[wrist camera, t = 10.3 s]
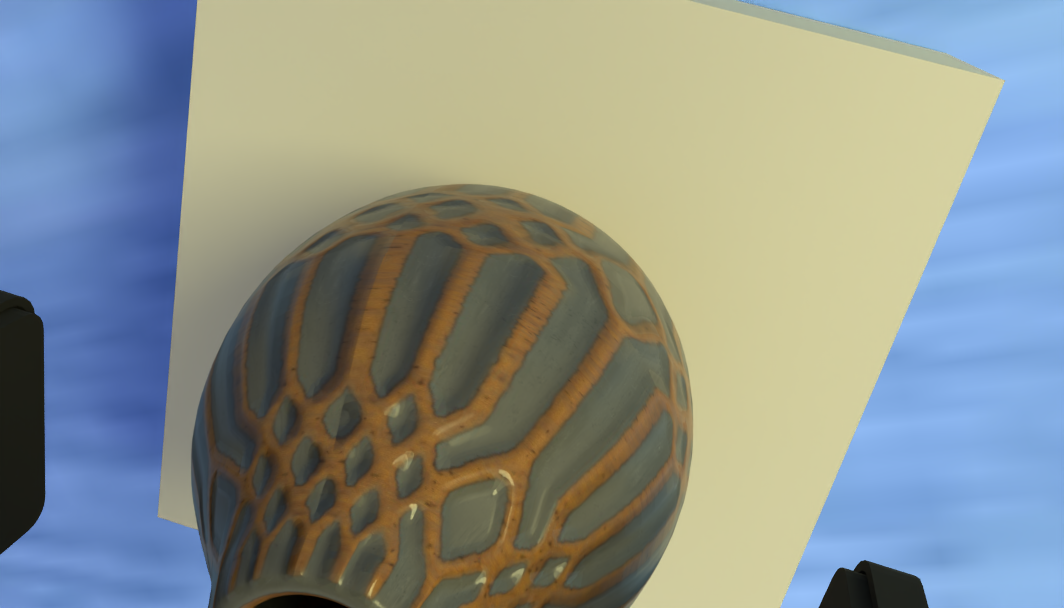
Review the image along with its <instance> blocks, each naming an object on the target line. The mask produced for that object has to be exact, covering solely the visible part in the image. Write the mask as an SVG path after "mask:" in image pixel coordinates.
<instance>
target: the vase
mask: <svg viewBox="0 0 1064 608" xmlns="http://www.w3.org/2000/svg"><path fill="white" fill-rule="evenodd" d="M692 451H693V402H692V395H691V387H690V380H689V372H688V367H687V363H686V358H685V354H684V351H683V347H682V344H681V341H680V338H679V335H678V333H677V330H676V328H675V326H674V323H673V321H672V319H671V317H670V315H669V313H668V311H667V309H666V307H665V305H664V303H663V301H662V299H661V297H660V296H659V294H658V292H657V291H656V289H655V287H654V286H653V284H652V283H651V281H650V280H649V279H648V277H647V276H646V274H645V273H644V272H643V270H642V269H641V268H640V267H639V266H638V264H637V263H636V262H635V261H634V260H633V258H632V257H631V256H630V255H629V254H628V253H627V252H626V251H625V250H624V249H623V248H622V247H621V246H620V245H619V244H618V243H616V242H615V241H614V240H613V239H612V238H611V237H609V236H608V235H607V234H606V233H605V232H603V231H602V230H601V229H599V228H598V227H596V226H595V225H594V224H592V223H591V222H589V221H588V220H586V219H585V218H583V217H581V216H580V215H578V214H576V213H574V212H573V211H571V210H569V209H567V208H565V207H563V206H561V205H559V204H556V203H554V202H552V201H549V200H547V199H544V198H542V197H539V196H536V195H533V194H530V193H526V192H522V191H519V190H515V189H510V188H505V187H499V186H491V185H482V184H451V185H440V186H430V187H423V188H418V189H413V190H408V191H403V192H400V193H397V194H393V195H390V196H387V197H384V198H382V199H380V200H377V201H375V202H372V203H370V204H368V205H365V206H363V207H361V208H358V209H356V210H354V211H352V212H350V213H349V214H347V215H345V216H343V217H341V218H339V219H338V220H336V221H334V222H333V223H331V224H330V225H328V226H326V227H325V228H323V229H322V230H320V231H318V232H317V233H315V234H314V235H312V236H311V237H310V238H308V239H307V240H306V241H305V242H303V243H302V244H301V245H299V246H298V247H297V248H296V249H295V250H293V251H292V252H291V253H290V254H289V255H287V256H286V257H285V258H284V259H283V260H282V261H281V262H280V263H279V264H278V265H277V266H275V267H274V269H273V270H272V271H271V272H270V273H269V274H268V275H267V276H266V278H265V279H264V280H263V281H262V282H261V283H260V285H259V286H258V287H257V288H256V290H255V291H254V292H253V293H252V295H251V296H250V297H249V299H248V300H247V302H246V303H245V304H244V306H243V307H242V309H241V311H240V312H239V314H238V316H237V317H236V319H235V321H234V322H233V324H232V326H231V327H230V329H229V331H228V332H227V334H226V336H225V338H224V340H223V342H222V344H221V347H220V349H219V351H218V353H217V355H216V357H215V359H214V361H213V364H212V366H211V369H210V372H209V374H208V377H207V380H206V383H205V386H204V389H203V392H202V394H201V398H200V402H199V406H198V410H197V415H196V420H195V426H194V432H193V438H192V448H191V487H192V497H193V504H194V510H195V515H196V521H197V527H198V531H199V535H200V540H201V544H202V548H203V552H204V556H205V560H206V564H207V568H208V572H209V575H210V579H211V593H210V599H209V605H208V608H630V607H631V606H632V604H633V603H634V601H635V600H636V599H637V597H638V596H639V594H640V593H641V591H642V590H643V588H644V587H645V585H646V584H647V582H648V581H649V579H650V578H651V576H652V574H653V572H654V571H655V569H656V567H657V565H658V564H659V562H660V560H661V558H662V556H663V554H664V552H665V550H666V548H667V546H668V544H669V542H670V539H671V537H672V535H673V532H674V530H675V527H676V524H677V521H678V518H679V515H680V512H681V509H682V506H683V503H684V500H685V495H686V491H687V487H688V480H689V473H690V466H691V459H692Z"/></svg>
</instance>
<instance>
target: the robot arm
mask: <svg viewBox="0 0 1064 608" xmlns="http://www.w3.org/2000/svg"><path fill="white" fill-rule="evenodd" d="M44 502H45V426H44V328H43V322H42V320H41V318H40V317H39V316H37V315H36V314H35V312H34V308H33V306H32V304H31V302H30V301H28V300H27V299H26V298H24V297H21V296H17V295H14V294H11V293H8V292H5V291H1V290H0V554H2V553H3V552H4V551H5V550H6V549H7V548H9V547H10V546H11V545H12V544H13V543H14V542H16V541H17V540H18V539H19V538H20V537H21V536H23V535H24V534H25V533H26V532H27V531H28V530H29V529H30V528H31V527H32V526H33V525H34V524H35V522H36V521H37V520H38V518H39V516H40V514H41V512H42V509H43V506H44ZM819 608H929V607H928V604H927V600H926V596H925V593H924V589H923V585H922V583H921V581H920V579H919V578H918V577H916V576H914V575H911V574H908V573H904V572H901V571H898V570H895V569H892V568H888V567H885V566H882V565H879V564H876V563H872V562H869V561H866V560H864V561H861V562H860V563H859V564H858V565H857V566H856V568H855V569H854V571H852V570H849V569H846V568H839V569H838V570H837V571H836V573H835V574H834V576H833V578H832V580H831V582H830V584H829V587H828V589H827V591H826V593H825V595H824V597H823V600H822V602H821V604H820V606H819Z"/></svg>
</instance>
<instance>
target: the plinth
mask: <svg viewBox="0 0 1064 608" xmlns="http://www.w3.org/2000/svg"><path fill="white" fill-rule="evenodd" d="M1004 82H1005V80H1002V79H1000V78H998V77H996V76H994V75H992V74H989V73H987V72H985V71H983V70H981V69H979V68H977V67H974V66H972V65H970V64H968V63H966V62H964V61H961V60H959V59H957V58H955V57H953V56H951V55H949V54H946V53H943V52H939V51H935V50H931V49H927V48H923V47H919V46H915V45H911V44H907V43H903V42H899V41H895V40H891V39H887V38H884V37H880V36H876V35H872V34H868V33H864V32H860V31H856V30H852V29H848V28H844V27H840V26H836V25H832V24H828V23H824V22H820V21H816V20H812V19H808V18H804V17H800V16H796V15H792V14H788V13H784V12H780V11H776V10H772V9H769V8H765V7H761V6H757V5H753V4H749V3H745V2H741V1H737V0H197V12H196V25H195V38H194V51H193V64H192V77H191V90H190V103H189V116H188V129H187V142H186V155H185V168H184V181H183V194H182V207H181V220H180V233H179V246H178V259H177V272H176V285H175V298H174V311H173V324H172V337H171V350H170V363H169V376H168V389H167V402H166V415H165V428H164V441H163V454H162V467H161V480H160V493H159V506H158V517H160V518H163V519H166V520H169V521H172V522H175V523H178V524H181V525H184V526H187V527H190V528H193V529H197V530H198V527H197V521H196V515H195V510H194V504H193V497H192V487H191V448H192V438H193V432H194V426H195V420H196V415H197V410H198V406H199V402H200V398H201V394H202V392H203V389H204V386H205V383H206V380H207V377H208V374H209V372H210V369H211V366H212V364H213V361H214V359H215V357H216V355H217V353H218V351H219V349H220V347H221V344H222V342H223V340H224V338H225V336H226V334H227V332H228V331H229V329H230V327H231V326H232V324H233V322H234V321H235V319H236V317H237V316H238V314H239V312H240V311H241V309H242V307H243V306H244V304H245V303H246V302H247V300H248V299H249V297H250V296H251V295H252V293H253V292H254V291H255V290H256V288H257V287H258V286H259V285H260V283H261V282H262V281H263V280H264V279H265V278H266V276H267V275H268V274H269V273H270V272H271V271H272V270H273V269H274V267H275V266H277V265H278V264H279V263H280V262H281V261H282V260H283V259H284V258H285V257H286V256H287V255H289V254H290V253H291V252H292V251H293V250H295V249H296V248H297V247H298V246H299V245H301V244H302V243H303V242H305V241H306V240H307V239H308V238H310V237H311V236H312V235H314V234H315V233H317V232H318V231H320V230H322V229H323V228H325V227H326V226H328V225H330V224H331V223H333V222H334V221H336V220H338V219H339V218H341V217H343V216H345V215H347V214H349V213H350V212H352V211H354V210H356V209H358V208H361V207H363V206H365V205H368V204H370V203H372V202H375V201H377V200H380V199H382V198H384V197H387V196H390V195H393V194H397V193H400V192H403V191H408V190H413V189H418V188H423V187H430V186H440V185H451V184H482V185H491V186H499V187H505V188H510V189H515V190H519V191H522V192H526V193H530V194H533V195H536V196H539V197H542V198H544V199H547V200H549V201H552V202H554V203H556V204H559V205H561V206H563V207H565V208H567V209H569V210H571V211H573V212H574V213H576V214H578V215H580V216H581V217H583V218H585V219H586V220H588V221H589V222H591V223H592V224H594V225H595V226H596V227H598V228H599V229H601V230H602V231H603V232H605V233H606V234H607V235H608V236H609V237H611V238H612V239H613V240H614V241H615V242H616V243H618V244H619V245H620V246H621V247H622V248H623V249H624V250H625V251H626V252H627V253H628V254H629V255H630V256H631V257H632V258H633V260H634V261H635V262H636V263H637V264H638V266H639V267H640V268H641V269H642V270H643V272H644V273H645V274H646V276H647V277H648V279H649V280H650V281H651V283H652V284H653V286H654V287H655V289H656V291H657V292H658V294H659V296H660V297H661V299H662V301H663V303H664V305H665V307H666V309H667V311H668V313H669V315H670V317H671V319H672V321H673V323H674V326H675V328H676V330H677V333H678V335H679V338H680V341H681V344H682V347H683V351H684V354H685V358H686V363H687V367H688V372H689V380H690V387H691V395H692V402H693V451H692V459H691V466H690V473H689V480H688V487H687V491H686V495H685V500H684V503H683V506H682V509H681V512H680V515H679V518H678V521H677V524H676V527H675V530H674V532H673V535H672V537H671V539H670V542H669V544H668V546H667V548H666V550H665V552H664V554H663V556H662V558H661V560H660V562H659V564H658V565H657V567H656V569H655V571H654V572H653V574H652V576H651V578H650V579H649V581H648V582H647V584H646V585H645V587H644V588H643V590H642V591H641V593H640V594H639V596H638V597H637V599H636V600H635V601H634V603H633V604H632V606H631V607H630V608H780V606H781V604H782V601H783V599H784V597H785V594H786V592H787V590H788V587H789V585H790V583H791V580H792V578H793V576H794V573H795V571H796V569H797V566H798V564H799V562H800V559H801V557H802V555H803V552H804V550H805V548H806V545H807V543H808V541H809V538H810V536H811V533H812V531H813V529H814V526H815V524H816V522H817V519H818V517H819V515H820V512H821V510H822V508H823V505H824V503H825V501H826V498H827V496H828V494H829V491H830V489H831V487H832V484H833V482H834V480H835V477H836V475H837V473H838V470H839V468H840V466H841V463H842V461H843V459H844V456H845V454H846V452H847V449H848V447H849V445H850V442H851V440H852V438H853V435H854V433H855V430H856V428H857V426H858V423H859V421H860V419H861V416H862V414H863V412H864V409H865V407H866V405H867V402H868V400H869V398H870V395H871V393H872V391H873V388H874V386H875V384H876V381H877V379H878V377H879V374H880V372H881V370H882V367H883V365H884V363H885V360H886V358H887V356H888V353H889V351H890V349H891V346H892V344H893V342H894V339H895V337H896V334H897V332H898V330H899V327H900V325H901V323H902V320H903V318H904V316H905V313H906V311H907V309H908V306H909V304H910V302H911V299H912V297H913V295H914V292H915V290H916V288H917V285H918V283H919V281H920V278H921V276H922V274H923V271H924V269H925V267H926V264H927V262H928V260H929V257H930V255H931V253H932V250H933V248H934V246H935V243H936V241H937V238H938V236H939V234H940V231H941V229H942V227H943V224H944V222H945V220H946V217H947V215H948V213H949V210H950V208H951V206H952V203H953V201H954V199H955V196H956V194H957V192H958V189H959V187H960V185H961V182H962V180H963V178H964V175H965V173H966V171H967V168H968V166H969V164H970V161H971V159H972V157H973V154H974V152H975V150H976V147H977V145H978V143H979V140H980V138H981V135H982V133H983V131H984V128H985V126H986V124H987V121H988V119H989V117H990V114H991V112H992V110H993V107H994V105H995V103H996V100H997V98H998V96H999V93H1000V91H1001V89H1002V86H1003V84H1004Z"/></svg>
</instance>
